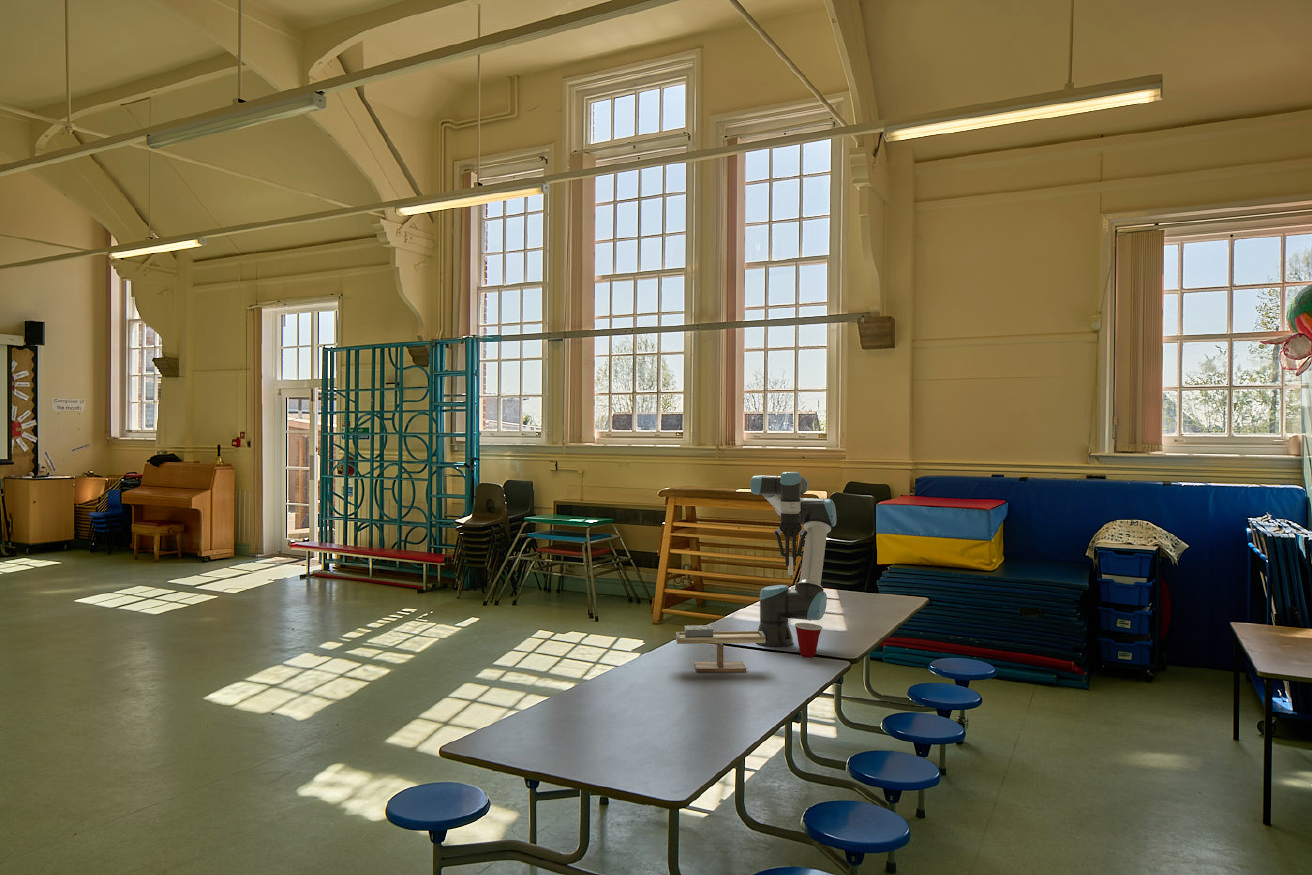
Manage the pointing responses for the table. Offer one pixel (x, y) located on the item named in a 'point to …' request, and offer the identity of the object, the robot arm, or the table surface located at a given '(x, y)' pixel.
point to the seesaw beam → (723, 638)
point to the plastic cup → (808, 638)
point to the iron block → (699, 631)
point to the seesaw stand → (720, 664)
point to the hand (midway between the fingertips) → (790, 574)
